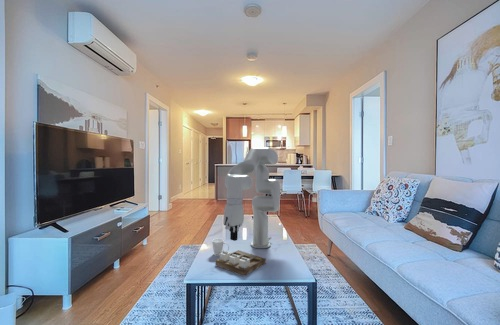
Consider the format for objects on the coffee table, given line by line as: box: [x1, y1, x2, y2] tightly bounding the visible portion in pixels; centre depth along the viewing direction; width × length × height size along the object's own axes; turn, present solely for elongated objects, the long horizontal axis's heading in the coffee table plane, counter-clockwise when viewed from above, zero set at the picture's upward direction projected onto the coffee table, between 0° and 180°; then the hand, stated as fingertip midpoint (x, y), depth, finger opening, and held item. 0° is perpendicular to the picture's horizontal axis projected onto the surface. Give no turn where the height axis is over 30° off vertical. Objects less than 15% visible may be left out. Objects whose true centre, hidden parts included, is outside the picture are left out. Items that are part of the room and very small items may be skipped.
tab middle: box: [229, 254, 240, 265], centre depth 125 cm, size 4×4×5 cm
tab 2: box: [239, 257, 250, 269], centre depth 121 cm, size 4×4×5 cm
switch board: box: [215, 250, 267, 277], centre depth 129 cm, size 18×19×3 cm
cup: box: [211, 238, 230, 257], centre depth 143 cm, size 7×10×8 cm
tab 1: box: [219, 250, 231, 262], centre depth 129 cm, size 4×4×5 cm
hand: (233, 239), depth 119 cm, fingers closed
